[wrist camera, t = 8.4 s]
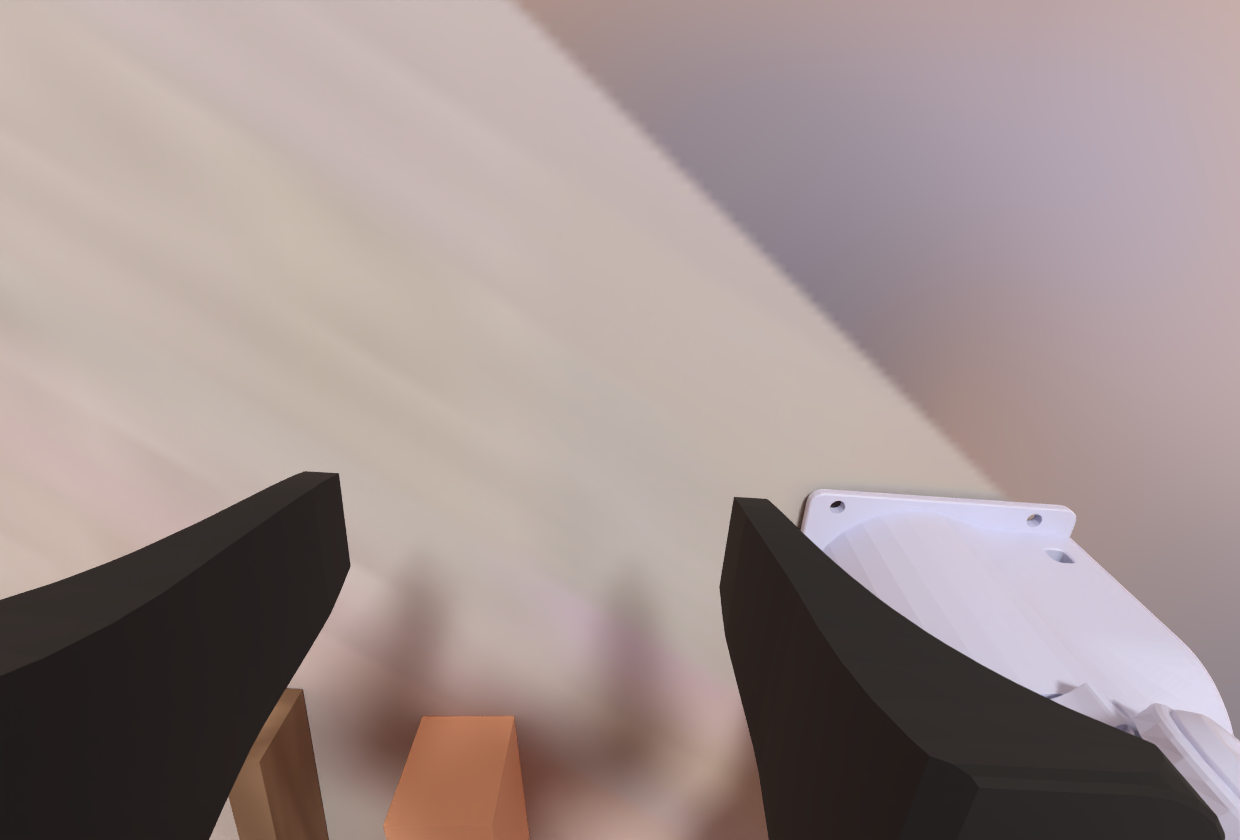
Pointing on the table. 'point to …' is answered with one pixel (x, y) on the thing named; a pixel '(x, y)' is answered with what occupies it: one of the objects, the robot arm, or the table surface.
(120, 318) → the table surface
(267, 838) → the wooden l-shaped bracket
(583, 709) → the table surface
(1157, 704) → the robot arm
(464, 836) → the block
